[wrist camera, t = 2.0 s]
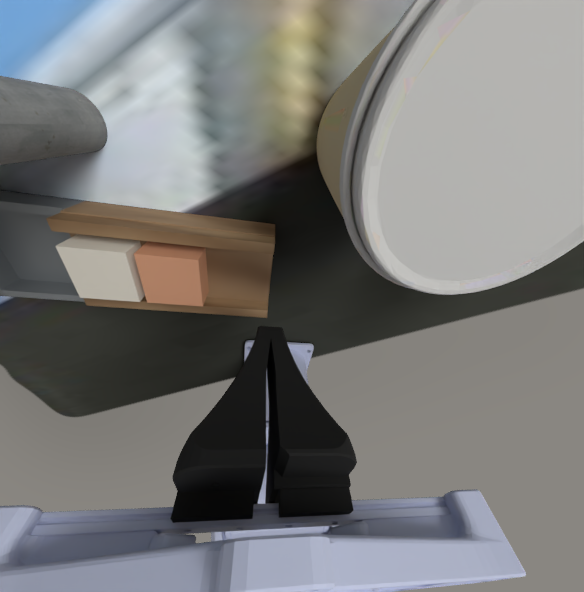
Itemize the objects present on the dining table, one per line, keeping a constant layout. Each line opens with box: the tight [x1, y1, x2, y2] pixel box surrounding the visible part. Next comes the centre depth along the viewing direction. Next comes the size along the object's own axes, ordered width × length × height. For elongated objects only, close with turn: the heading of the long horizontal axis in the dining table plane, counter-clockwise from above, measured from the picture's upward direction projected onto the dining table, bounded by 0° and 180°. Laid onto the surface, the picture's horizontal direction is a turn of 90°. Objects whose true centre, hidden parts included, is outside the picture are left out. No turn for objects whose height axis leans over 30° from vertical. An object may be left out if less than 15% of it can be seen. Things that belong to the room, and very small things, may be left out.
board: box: [46, 201, 275, 318], centre depth 19 cm, size 7×14×4 cm, turn 82°
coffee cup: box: [317, 0, 584, 295], centre depth 11 cm, size 9×9×12 cm
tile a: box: [134, 241, 209, 307], centre depth 17 cm, size 4×4×2 cm
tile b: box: [56, 234, 145, 302], centre depth 17 cm, size 4×4×2 cm
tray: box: [0, 190, 85, 302], centre depth 18 cm, size 8×8×2 cm
